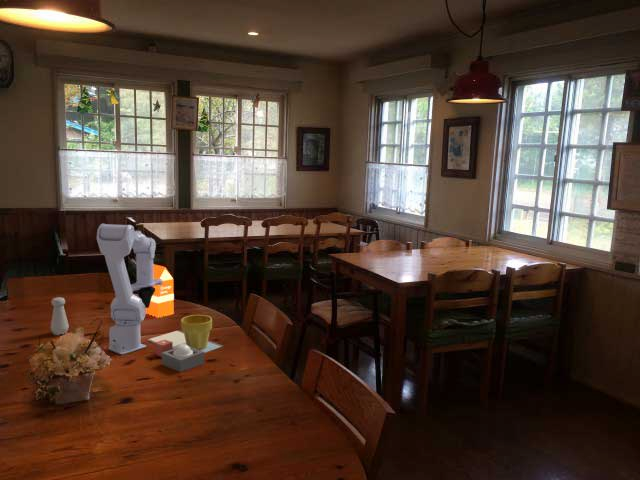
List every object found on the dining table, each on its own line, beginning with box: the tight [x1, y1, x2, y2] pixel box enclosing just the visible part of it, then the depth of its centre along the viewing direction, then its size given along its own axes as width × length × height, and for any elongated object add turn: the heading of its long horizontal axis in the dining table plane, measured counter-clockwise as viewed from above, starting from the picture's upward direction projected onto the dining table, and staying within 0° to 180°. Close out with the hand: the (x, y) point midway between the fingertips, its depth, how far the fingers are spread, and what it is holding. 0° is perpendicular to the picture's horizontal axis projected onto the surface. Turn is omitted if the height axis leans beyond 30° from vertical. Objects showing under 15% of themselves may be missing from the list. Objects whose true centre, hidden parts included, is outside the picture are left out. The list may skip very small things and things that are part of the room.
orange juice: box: [145, 263, 175, 319], centre depth 215 cm, size 8×9×20 cm
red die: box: [154, 340, 173, 358], centre depth 174 cm, size 4×4×4 cm
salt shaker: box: [50, 296, 70, 336], centre depth 189 cm, size 6×6×13 cm
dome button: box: [173, 344, 193, 358], centre depth 167 cm, size 6×6×5 cm
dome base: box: [161, 346, 205, 373], centre depth 167 cm, size 9×9×4 cm
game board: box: [146, 329, 224, 354], centre depth 185 cm, size 14×24×1 cm, turn 53°
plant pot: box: [180, 314, 213, 350], centre depth 181 cm, size 10×10×10 cm
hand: (145, 307), depth 193 cm, fingers closed
